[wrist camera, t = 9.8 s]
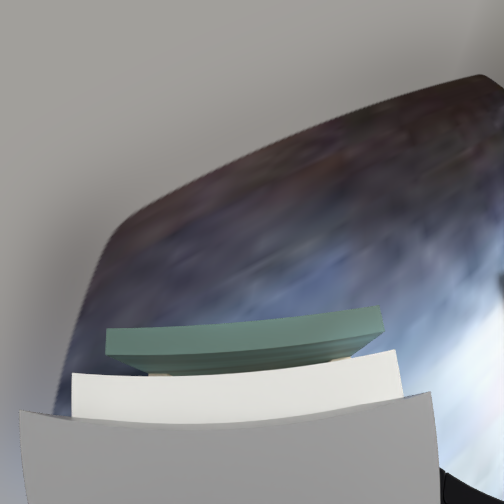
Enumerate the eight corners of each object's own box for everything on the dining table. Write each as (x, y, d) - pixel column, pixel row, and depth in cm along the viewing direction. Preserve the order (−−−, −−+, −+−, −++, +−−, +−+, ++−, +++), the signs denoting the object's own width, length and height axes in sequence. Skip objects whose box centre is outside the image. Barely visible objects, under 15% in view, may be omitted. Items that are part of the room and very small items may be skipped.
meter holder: (354, 506, 12) (406, 550, 5) (175, 521, 11) (127, 570, 5) (336, 347, 17) (379, 305, 10) (162, 362, 16) (106, 328, 10)
